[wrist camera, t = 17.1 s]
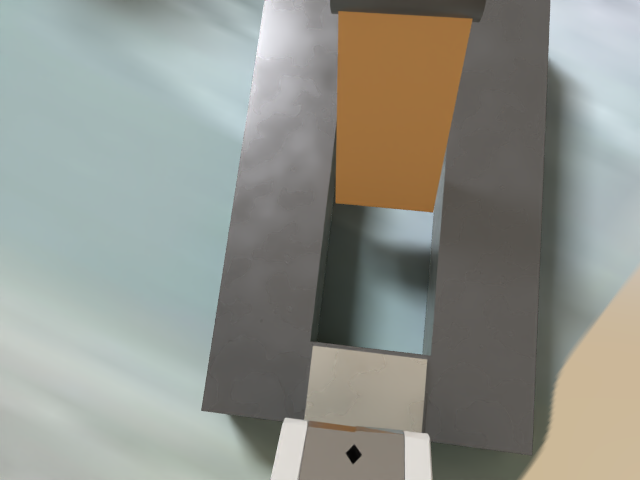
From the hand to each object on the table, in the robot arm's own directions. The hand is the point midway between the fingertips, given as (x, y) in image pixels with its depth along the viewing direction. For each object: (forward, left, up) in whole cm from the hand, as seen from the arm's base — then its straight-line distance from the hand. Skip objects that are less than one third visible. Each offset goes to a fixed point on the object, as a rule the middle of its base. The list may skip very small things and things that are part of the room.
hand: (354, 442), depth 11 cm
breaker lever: (+6, +8, -16) cm, 19 cm away
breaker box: (+6, +8, -20) cm, 22 cm away
